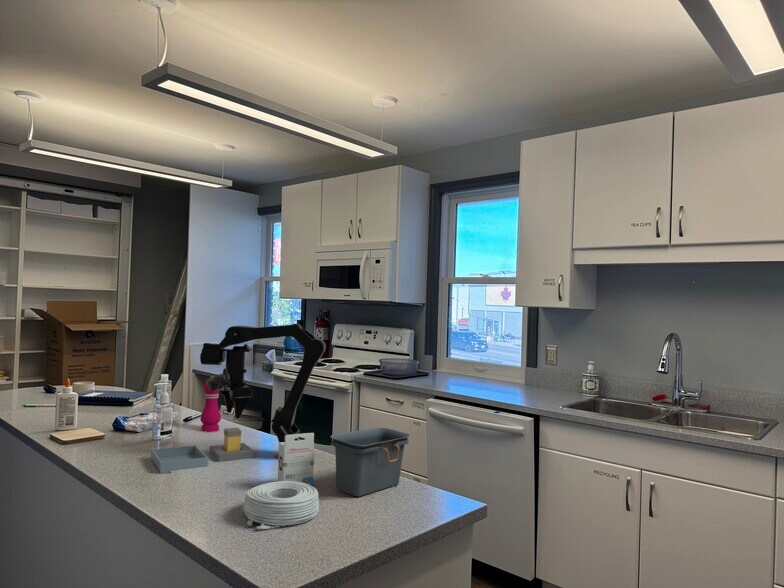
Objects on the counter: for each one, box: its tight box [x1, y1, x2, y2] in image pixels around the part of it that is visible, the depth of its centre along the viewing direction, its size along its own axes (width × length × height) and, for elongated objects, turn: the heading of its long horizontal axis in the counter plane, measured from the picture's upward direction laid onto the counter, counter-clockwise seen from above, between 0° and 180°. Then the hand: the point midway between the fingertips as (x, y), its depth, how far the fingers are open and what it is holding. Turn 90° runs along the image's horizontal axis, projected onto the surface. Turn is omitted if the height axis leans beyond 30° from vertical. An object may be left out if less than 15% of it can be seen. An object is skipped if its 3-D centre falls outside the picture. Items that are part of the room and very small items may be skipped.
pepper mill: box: [200, 375, 222, 433], centre depth 208 cm, size 7×7×20 cm
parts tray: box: [150, 445, 209, 475], centre depth 166 cm, size 15×13×3 cm
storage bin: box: [329, 427, 411, 497], centre depth 152 cm, size 21×16×14 cm
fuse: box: [223, 427, 242, 452], centre depth 176 cm, size 4×4×8 cm
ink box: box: [277, 432, 315, 487], centre depth 151 cm, size 9×5×15 cm, turn 117°
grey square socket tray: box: [208, 442, 256, 463], centre depth 176 cm, size 11×11×2 cm
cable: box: [242, 480, 320, 531], centre depth 131 cm, size 18×18×6 cm
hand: (233, 415), depth 176 cm, fingers open, 9 cm apart
